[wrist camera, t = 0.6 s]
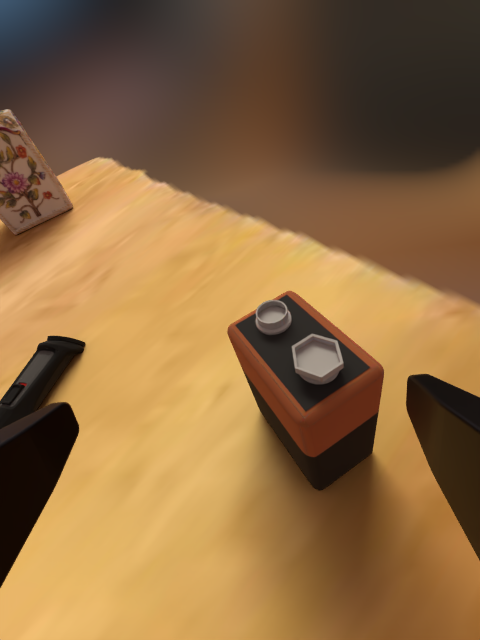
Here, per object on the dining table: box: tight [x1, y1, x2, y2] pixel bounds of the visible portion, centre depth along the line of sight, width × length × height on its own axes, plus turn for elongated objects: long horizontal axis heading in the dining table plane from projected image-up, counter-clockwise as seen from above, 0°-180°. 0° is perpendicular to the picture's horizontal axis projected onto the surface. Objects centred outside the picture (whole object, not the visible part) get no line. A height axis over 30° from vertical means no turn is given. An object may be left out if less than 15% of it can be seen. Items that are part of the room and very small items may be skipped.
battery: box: [228, 291, 384, 490], centre depth 17 cm, size 4×7×10 cm, turn 29°
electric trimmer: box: [0, 336, 85, 429], centre depth 27 cm, size 4×16×3 cm, turn 168°
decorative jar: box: [0, 110, 73, 235], centre depth 55 cm, size 12×12×18 cm
